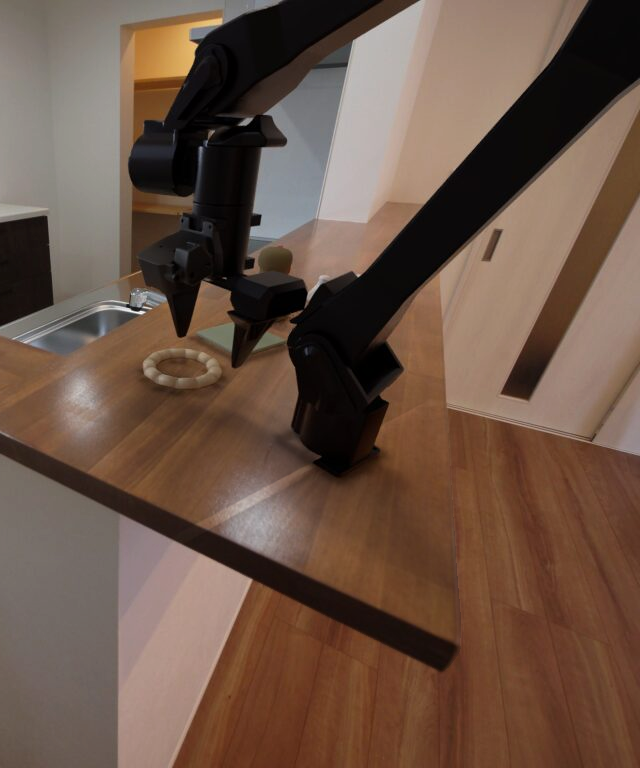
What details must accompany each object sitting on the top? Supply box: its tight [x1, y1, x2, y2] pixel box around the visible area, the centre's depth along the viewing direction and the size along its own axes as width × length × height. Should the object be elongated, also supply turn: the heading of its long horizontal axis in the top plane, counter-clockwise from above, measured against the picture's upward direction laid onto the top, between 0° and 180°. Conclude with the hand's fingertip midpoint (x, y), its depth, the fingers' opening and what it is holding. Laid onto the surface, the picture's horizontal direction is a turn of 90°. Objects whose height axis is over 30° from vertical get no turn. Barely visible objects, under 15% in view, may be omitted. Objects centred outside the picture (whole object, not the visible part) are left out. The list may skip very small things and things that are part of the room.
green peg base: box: [195, 321, 287, 355], centre depth 60 cm, size 9×9×6 cm
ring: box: [142, 347, 223, 390], centre depth 53 cm, size 10×10×2 cm
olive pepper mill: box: [257, 246, 294, 322], centre depth 69 cm, size 6×6×11 cm
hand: (206, 351), depth 48 cm, fingers open, 9 cm apart
